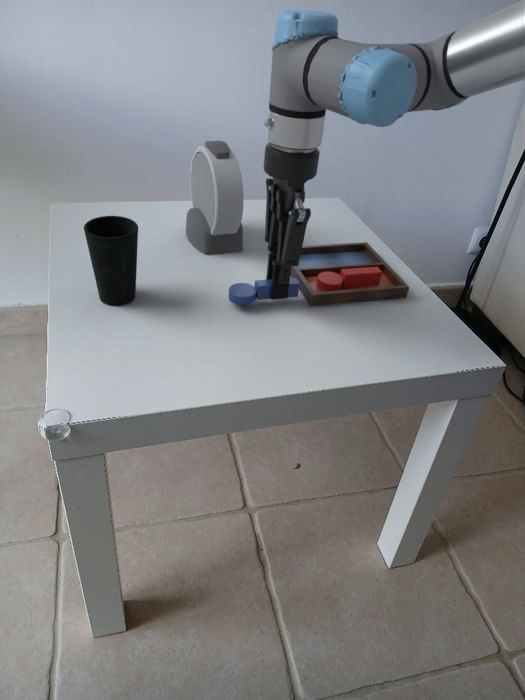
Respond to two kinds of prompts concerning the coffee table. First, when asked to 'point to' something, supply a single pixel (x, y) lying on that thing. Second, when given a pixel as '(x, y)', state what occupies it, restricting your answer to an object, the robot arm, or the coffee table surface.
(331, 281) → the red spoon
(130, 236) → the cup
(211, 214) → the alarm clock
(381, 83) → the robot arm
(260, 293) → the blue disc-ended stick
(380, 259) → the divided sorting tray
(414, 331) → the coffee table surface
